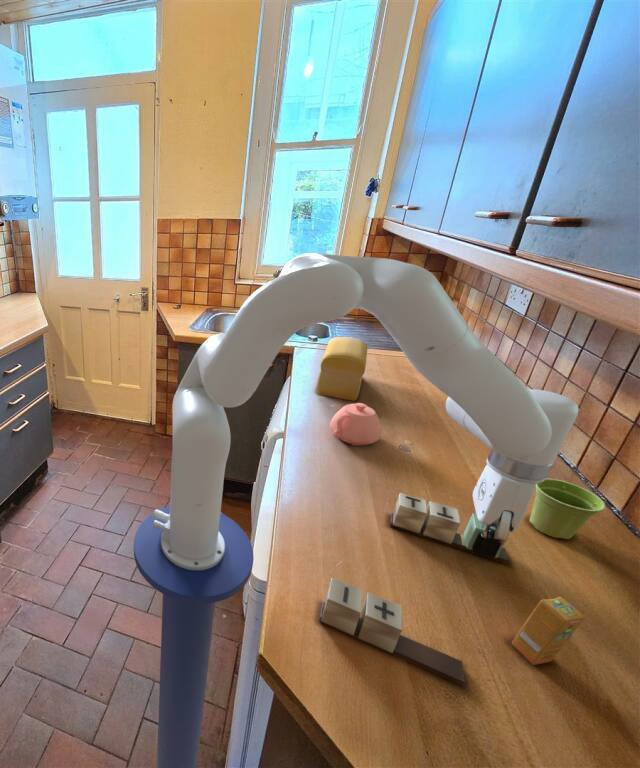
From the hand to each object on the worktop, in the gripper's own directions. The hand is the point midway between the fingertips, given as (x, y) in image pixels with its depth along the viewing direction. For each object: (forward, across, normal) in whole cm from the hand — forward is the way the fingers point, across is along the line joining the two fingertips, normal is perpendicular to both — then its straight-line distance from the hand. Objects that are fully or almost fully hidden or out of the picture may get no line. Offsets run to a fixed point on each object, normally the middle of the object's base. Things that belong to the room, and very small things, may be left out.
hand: (480, 542), depth 75 cm
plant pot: (+2, -14, +13) cm, 19 cm away
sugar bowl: (+2, -31, -24) cm, 39 cm away
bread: (+2, -68, -31) cm, 75 cm away
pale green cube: (+1, 0, 0) cm, 1 cm away
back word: (+2, 0, -5) cm, 5 cm away
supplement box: (+2, +20, +4) cm, 21 cm away
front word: (+2, +29, -14) cm, 32 cm away
